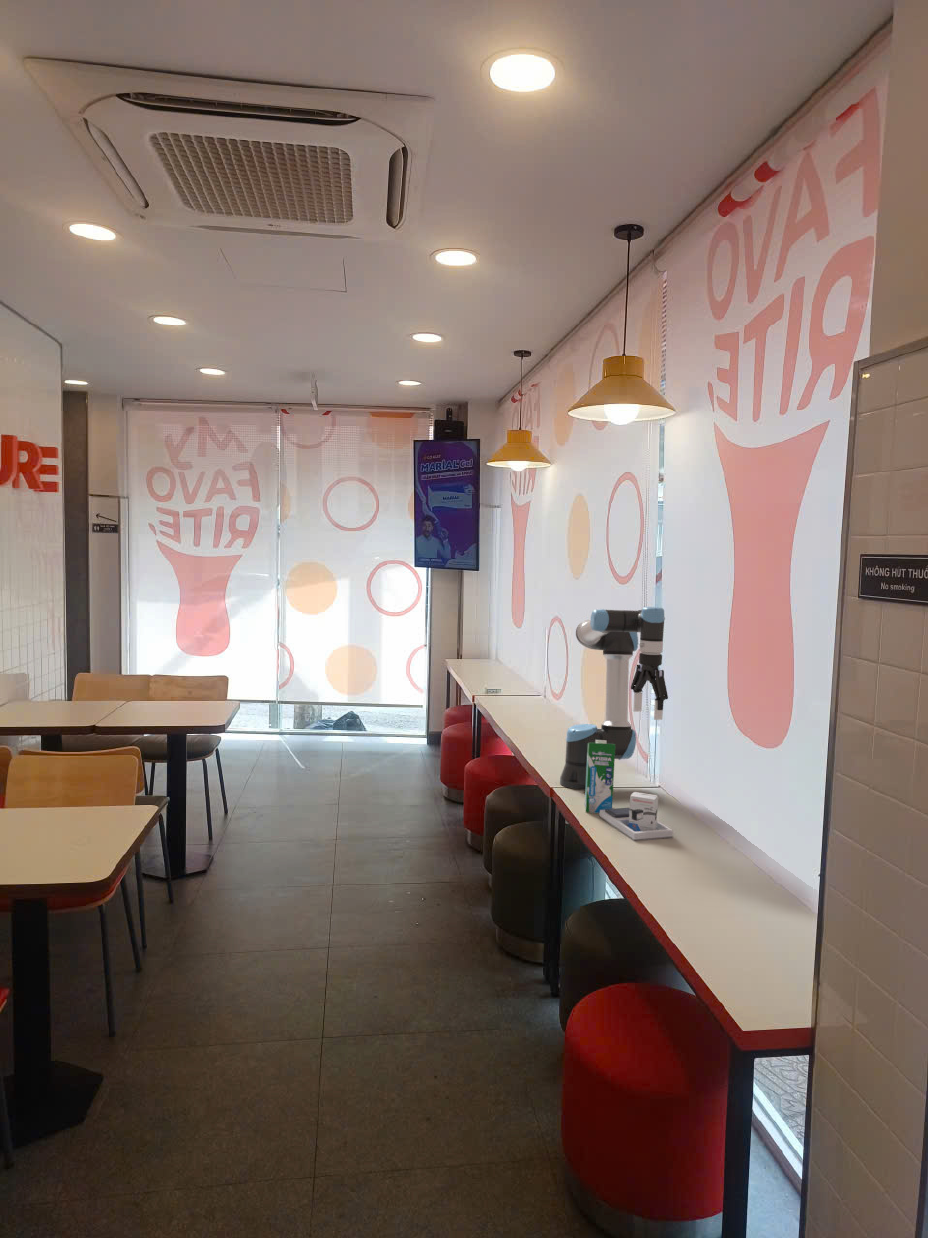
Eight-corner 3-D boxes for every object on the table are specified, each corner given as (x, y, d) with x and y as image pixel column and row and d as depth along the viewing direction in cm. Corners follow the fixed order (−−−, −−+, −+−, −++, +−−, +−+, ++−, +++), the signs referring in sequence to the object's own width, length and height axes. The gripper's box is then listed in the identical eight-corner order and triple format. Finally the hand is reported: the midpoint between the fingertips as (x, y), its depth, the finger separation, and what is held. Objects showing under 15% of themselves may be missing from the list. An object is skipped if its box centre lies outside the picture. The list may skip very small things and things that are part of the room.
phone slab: (605, 811, 284) (605, 809, 284) (636, 809, 288) (636, 806, 288) (614, 818, 277) (614, 815, 277) (646, 815, 281) (646, 813, 281)
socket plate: (599, 817, 286) (599, 810, 286) (635, 814, 290) (635, 807, 290) (634, 841, 263) (634, 833, 263) (672, 837, 267) (673, 830, 267)
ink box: (627, 830, 271) (629, 795, 270) (631, 826, 276) (632, 791, 275) (653, 834, 268) (655, 799, 267) (656, 830, 273) (658, 795, 272)
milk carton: (609, 806, 298) (613, 738, 296) (611, 814, 290) (615, 743, 287) (584, 804, 299) (587, 736, 297) (585, 812, 290) (589, 742, 288)
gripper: (622, 648, 289) (619, 708, 290) (660, 658, 265) (657, 723, 267) (641, 648, 291) (638, 707, 293) (681, 658, 267) (677, 722, 269)
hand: (647, 715), depth 280 cm, fingers open, 13 cm apart
